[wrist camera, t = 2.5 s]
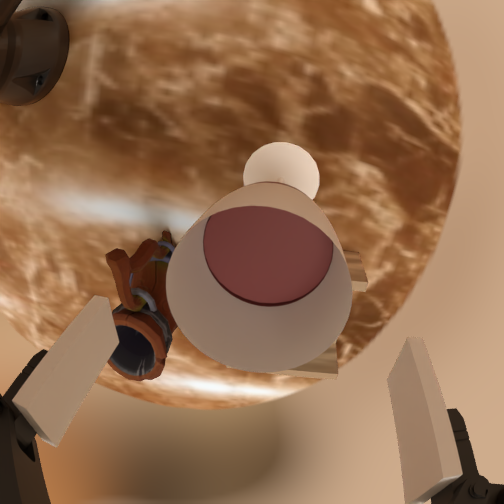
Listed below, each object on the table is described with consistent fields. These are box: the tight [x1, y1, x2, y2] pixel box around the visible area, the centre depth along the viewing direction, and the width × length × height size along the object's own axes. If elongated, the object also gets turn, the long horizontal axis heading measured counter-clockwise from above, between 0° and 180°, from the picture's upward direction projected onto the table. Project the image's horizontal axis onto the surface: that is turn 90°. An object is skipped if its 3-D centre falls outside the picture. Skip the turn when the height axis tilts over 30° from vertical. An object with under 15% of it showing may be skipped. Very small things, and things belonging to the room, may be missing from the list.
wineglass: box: [166, 142, 352, 372], centre depth 25 cm, size 9×10×23 cm
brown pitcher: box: [105, 231, 178, 381], centre depth 36 cm, size 18×12×15 cm, turn 173°
